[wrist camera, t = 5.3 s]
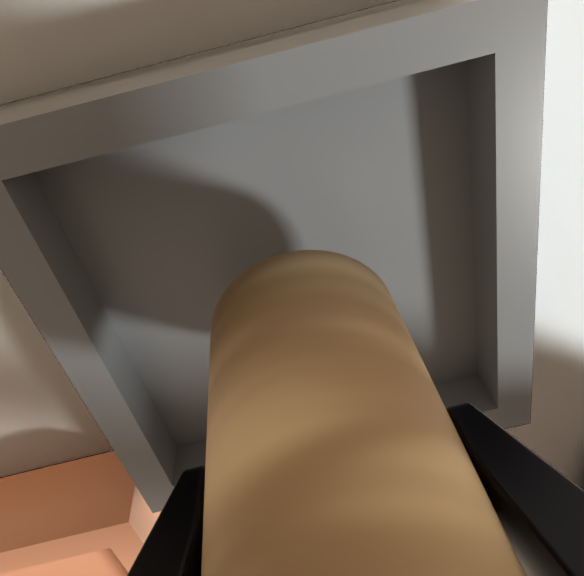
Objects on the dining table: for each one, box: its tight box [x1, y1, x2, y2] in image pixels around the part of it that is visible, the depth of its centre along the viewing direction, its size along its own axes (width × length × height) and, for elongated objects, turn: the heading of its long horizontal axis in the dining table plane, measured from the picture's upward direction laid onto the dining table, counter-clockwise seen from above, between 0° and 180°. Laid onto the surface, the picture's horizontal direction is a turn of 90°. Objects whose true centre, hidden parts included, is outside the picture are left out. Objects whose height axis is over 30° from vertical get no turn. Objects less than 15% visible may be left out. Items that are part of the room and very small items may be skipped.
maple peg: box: [201, 250, 527, 576], centre depth 8 cm, size 4×4×10 cm
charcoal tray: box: [0, 0, 548, 513], centre depth 14 cm, size 12×12×2 cm
